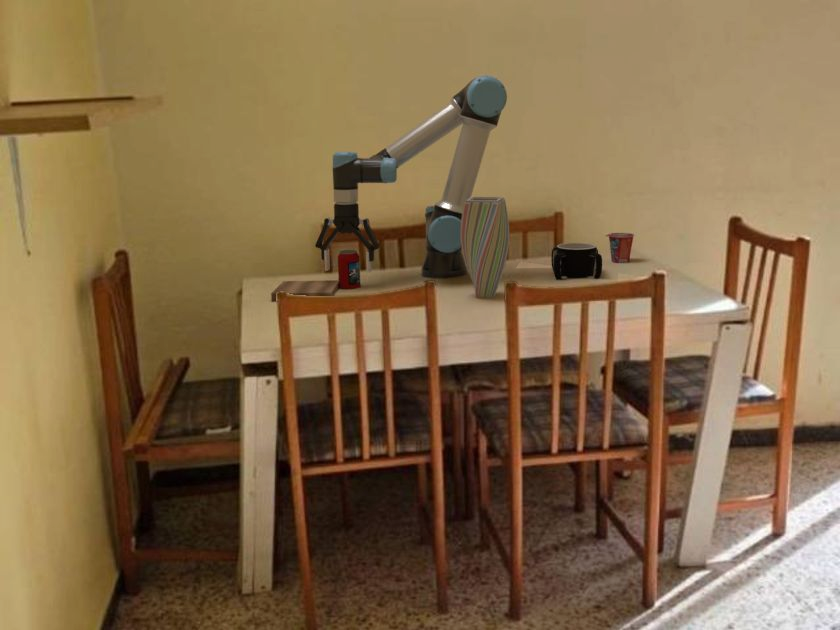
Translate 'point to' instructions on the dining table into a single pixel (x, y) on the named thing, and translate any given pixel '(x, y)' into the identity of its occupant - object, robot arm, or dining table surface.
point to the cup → (620, 246)
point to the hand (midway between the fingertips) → (348, 271)
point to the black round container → (576, 261)
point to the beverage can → (349, 269)
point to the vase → (485, 242)
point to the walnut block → (307, 288)
